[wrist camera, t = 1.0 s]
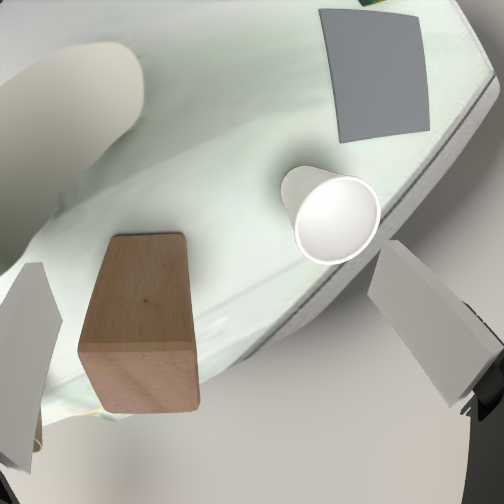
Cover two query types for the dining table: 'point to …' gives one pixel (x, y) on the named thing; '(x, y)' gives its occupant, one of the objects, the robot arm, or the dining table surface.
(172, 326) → the wooden block
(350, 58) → the mat
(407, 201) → the dining table surface
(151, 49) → the dining table surface
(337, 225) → the cup
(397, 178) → the dining table surface
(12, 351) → the robot arm
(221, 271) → the dining table surface
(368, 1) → the crayon box
